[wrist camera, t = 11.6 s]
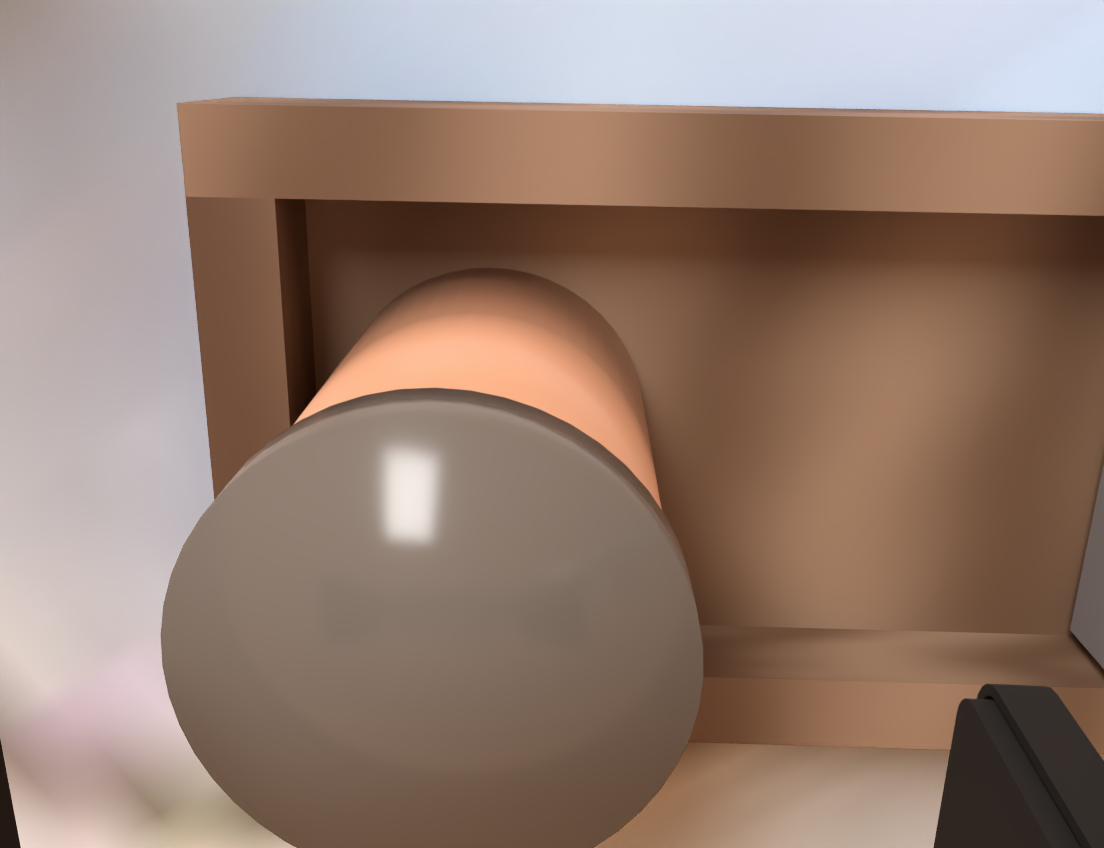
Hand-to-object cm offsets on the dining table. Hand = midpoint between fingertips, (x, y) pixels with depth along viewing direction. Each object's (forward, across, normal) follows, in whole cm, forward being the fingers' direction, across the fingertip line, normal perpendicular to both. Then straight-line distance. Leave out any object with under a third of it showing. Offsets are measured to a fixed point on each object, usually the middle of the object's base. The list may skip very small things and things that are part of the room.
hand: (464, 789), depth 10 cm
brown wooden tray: (+12, -4, 0) cm, 13 cm away
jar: (+11, +1, 0) cm, 11 cm away
